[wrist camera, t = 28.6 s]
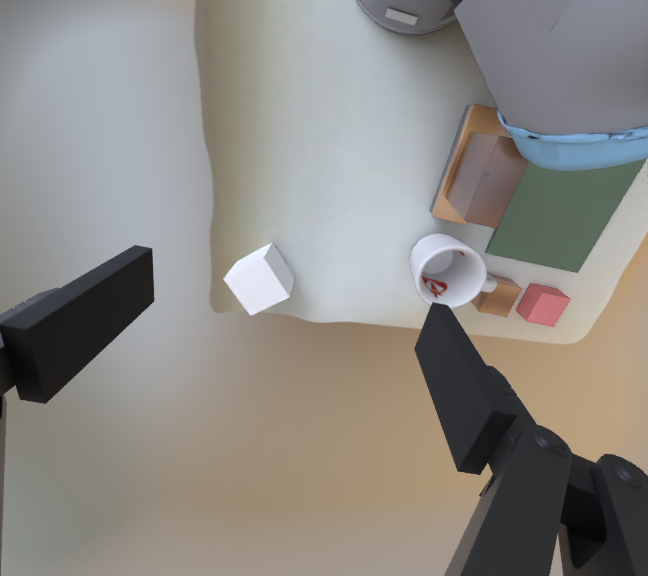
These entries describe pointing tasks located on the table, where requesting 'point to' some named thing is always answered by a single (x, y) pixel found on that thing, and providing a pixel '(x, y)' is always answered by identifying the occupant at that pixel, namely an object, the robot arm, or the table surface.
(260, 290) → the white cube
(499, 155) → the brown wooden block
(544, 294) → the eraser block
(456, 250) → the cup
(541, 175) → the desk mat
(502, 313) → the cork block
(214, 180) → the table surface
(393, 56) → the table surface
